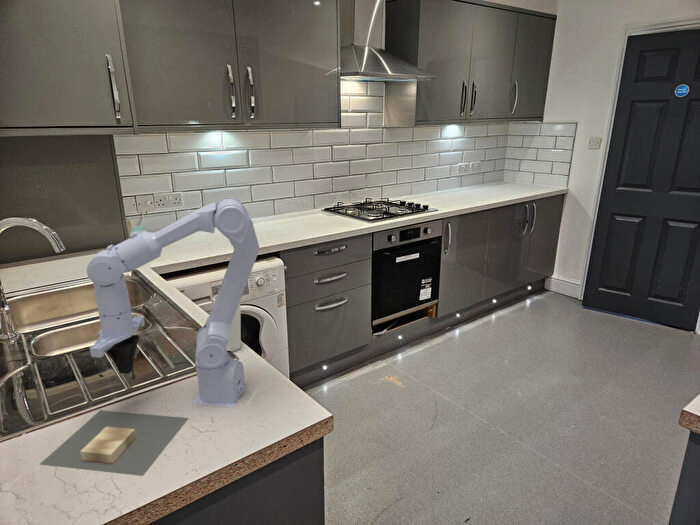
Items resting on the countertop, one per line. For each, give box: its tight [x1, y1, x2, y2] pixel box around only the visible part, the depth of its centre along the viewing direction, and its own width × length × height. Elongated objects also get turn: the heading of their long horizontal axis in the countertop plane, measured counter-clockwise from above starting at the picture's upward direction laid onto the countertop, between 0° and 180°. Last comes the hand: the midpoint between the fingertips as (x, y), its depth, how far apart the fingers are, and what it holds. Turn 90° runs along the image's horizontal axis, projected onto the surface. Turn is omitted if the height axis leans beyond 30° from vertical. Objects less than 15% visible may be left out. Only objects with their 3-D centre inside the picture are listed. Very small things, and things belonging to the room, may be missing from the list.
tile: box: [80, 427, 136, 464], centre depth 84 cm, size 6×2×7 cm
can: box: [130, 225, 148, 235], centre depth 219 cm, size 7×7×12 cm
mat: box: [39, 409, 190, 477], centre depth 87 cm, size 20×16×1 cm
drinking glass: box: [212, 293, 242, 353], centre depth 121 cm, size 7×7×15 cm
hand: (126, 371), depth 94 cm, fingers closed
